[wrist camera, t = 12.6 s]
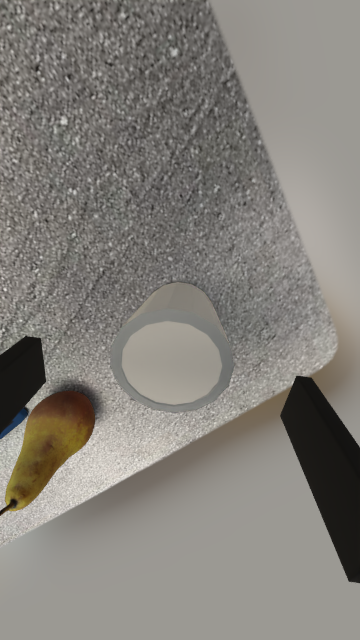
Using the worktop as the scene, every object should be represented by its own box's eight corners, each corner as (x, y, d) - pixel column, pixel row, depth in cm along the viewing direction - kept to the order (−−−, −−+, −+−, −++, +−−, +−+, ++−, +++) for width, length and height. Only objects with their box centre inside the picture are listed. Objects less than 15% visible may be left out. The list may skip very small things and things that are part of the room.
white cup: (182, 365, 22) (175, 431, 15) (120, 317, 20) (84, 367, 14) (240, 314, 19) (261, 367, 13) (175, 254, 18) (164, 280, 11)
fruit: (36, 399, 24) (-92, 552, 14) (70, 369, 23) (-47, 519, 12) (80, 430, 26) (-5, 591, 15) (115, 405, 24) (48, 567, 13)
